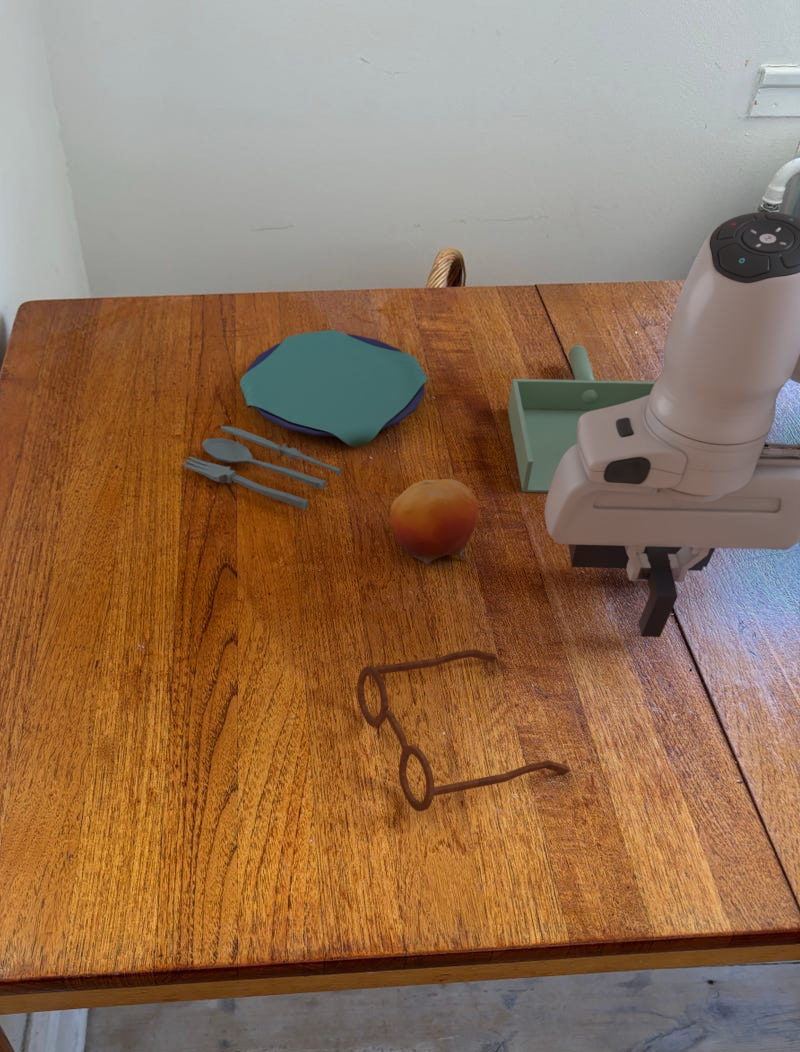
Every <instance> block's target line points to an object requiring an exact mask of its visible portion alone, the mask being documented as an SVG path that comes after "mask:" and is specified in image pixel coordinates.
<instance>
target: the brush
mask: <svg viewBox="0 0 800 1052" xmlns="http://www.w3.org/2000/svg"><path fill="white" fill-rule="evenodd" d="M681 548H683V547H654V546H646V547H645V550H644V552H643V553H646V554H648V557H649V562H650V564H651V571H650V574H649V575H648V580H647V581H646V582H647V586H648V590H649V595H648V598H647V601H646V603H645V605H644V607H643V610H642V613H641V614H640V617H639V619H638V627H639V632H640V636H641V637H642V638H660V637H661V636H662V633H663V631H664V629H665V626H666V624H667V622H668V619H669V618H670V615H671V612H672V610H673V608H674V606H675V604H676V602H677V600H678V591H677V587H676V584H675V583H676V582H674V578H673V574H672V570H671V566H670V561H669V557H668V554H676V553H677V552H678V551H679V550H680V549H681ZM715 550H716V548H710V550H709V553H708V555H707V556H706V557H704V558H703V559H702V560H700V561H699V562H698V563H696V564H695V565H694V566H692V567H691V568H690V569H688V570H687V571H689V572H690V571H692V572H694V571H695V572H696V571H697V572H702V571H703V569H704V568H705V567H708V565H709V563H710V561H711V559H712V557H713V555H714V552H715ZM568 551H569V558H570V564H571V567H572V568H589V569H591V568H593V569H621V570H623V569H624V570H625V569H626V570H627V564H628V561H629V557H628V555H627V553H626V549H625V546H615V545H576V544H568Z"/></svg>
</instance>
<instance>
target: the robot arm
mask: <svg viewBox="0 0 800 1052" xmlns="http://www.w3.org/2000/svg"><path fill="white" fill-rule="evenodd" d="M693 261H694V262H693V263H692V266H691V268H690V270H689V272H688V274H687V277H686V279H685V282H684V284H683V286H682V289H681V290H680V294H679V297H678V300H677V302H676V305H675V308H674V311H673V314H672V316H671V320H670V323H669V326H668V330H667V333H666V337H665V341H664V345H663V367H662V371H661V373H660V375H659V376H658V378H657V379H656V380H655V381H656V383H655V384H654V386H653V388H652V390H651V393H650V395H647V396H644V397H642V398H639V399H636V400H633V401H629V402H626V403H622V404H618V405H615V406H610V407H606V408H602V409H598V410H589V411H590V412H587V413H584V414H583V415H582V416H581V417H580V418H579V420H578V424H577V443H578V444H575V445H574V446H572V447H571V448H570V449H569V450H567V452H566V453H565V454H564V455H563V457H562V458H561V460H560V462H559V464H558V467H557V469H556V472H555V474H554V477H553V480H552V483H551V486H550V489H549V492H548V493H547V496H546V499H545V504H544V522H545V526H546V527H545V528H546V531H547V533H548V535H549V537H550V538H551V539H552V540H553V542H554V543H555V544H558V545H569V544H576V545H615V546H625V549H626V553H627V555H628V557H629V561H628V564H627V569H626V574H627V577H628V580H629V581H632V582H633V581H634V582H648V581H647V580H648V575H649V574H650V571H651V564H650V562H649V557H648V554H646V553H643V552H644V550H645V547H646V546H654V547H683V548H681V549H680V550H679V551H678V552H677V553H676V554H668V557H669V561H670V566H671V570H672V574H673V578H674V583H683V582H684V581H685V579H686V576H687V573H688V571H689V570H688V569H690V568H691V567H692V566H694V565H695V564H696V563H698V562H699V561H700V560H702V559H703V558H704V557H706V556H707V555H708V553H709V550H710V548H715V549H732V550H733V549H735V550H736V549H737V550H770V551H771V550H775V551H787V550H789V549H791V548H792V547H794V546H795V545H797V544H798V543H800V443H793V444H792V443H785V442H775V441H774V442H773V441H772V442H771V441H768V440H767V439H768V438H769V435H770V432H771V429H772V427H773V425H774V422H775V417H776V402H777V399H778V396H779V394H780V392H781V390H782V389H783V388H784V386H785V385H786V384H787V382H788V381H789V380H791V381H793V382H795V383H797V384H800V218H799V217H797V216H794V215H790V214H786V213H781V212H771V211H758V212H750V213H745V214H741V215H737V216H734V217H732V218H729V219H727V220H725V221H723V222H722V223H720V224H719V225H717V226H716V227H715V228H714V229H713V230H712V231H711V232H710V233H709V235H708V236H707V238H706V239H705V241H704V242H703V243H702V246H701V248H700V250H699V251H698V254H697V255H696V258H695V259H694V260H693Z"/></svg>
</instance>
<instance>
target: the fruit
mask: <svg viewBox="0 0 800 1052" xmlns="http://www.w3.org/2000/svg"><path fill="white" fill-rule="evenodd" d="M479 507H480V506H479V503H478V499H477V497H476V496H475V493H473V491H472V490H471V489H470V488H469V487H467V486H466V485H465V484H463V482H460V481H458V480H456V479H450V478H442V479H423V480H420V481H416V482H414V483H412V484H411V485H410V486H408V487H407V488H406V489H405V490H404V491H403V492H401V494H399V495H398V497H396V498H395V499H394V500H393V502H392V503H391V506H390V525H391V528H392V531H393V532H392V533H393V535H394V537H395V539H396V542H397V544H399V546H400V547H401V548H402V549H403V550H404V552H405V553H406V554H407V555H408V556H411V557H413V558H414V559H417V560H419V561H420V562H423V563H424V564H425V565H426V567H429V565H430V564H431V562H433V561H435V560H437V559H440V558H441V557H444V556H445V557H446V556H449V555H451V556H452V555H453V556H460V557H462V558H463V560H465V561H467V558H466V556H465V555H464V553H463V549H465V547H467V545H468V542H469V541H470V539H471V537H472V535H473V533H474V530H475V527H476V524H477V521H478V516H479V510H480V508H479Z"/></svg>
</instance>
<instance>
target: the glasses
mask: <svg viewBox="0 0 800 1052" xmlns="http://www.w3.org/2000/svg"><path fill="white" fill-rule="evenodd" d="M467 658H468V659H469V658H473V659H478V660H481V661H482V660H483V661H487V662H492V663H493V662H494V661H495V660H497V659H498V656H497V654H496V653H492V652H487V651H484V650H479V649H475V648H473V649H467V650H462V651H456V652H455V651H454V652H452V653H448V654H445V655H442V656H438V657H435V658H428V659H420V660H413V661H405V662H399V663H392V664H385V665H384V664H383V665H376V666H372V665H368V666H364V667H363V668H362V669H361V670H360V672H359V675H358V678H357V684H356V696H357V703H358V706H359V709H360V712H361V714H362V717H363V718H364V720H365V721H366V723H367V725H369V726H370V727H372V728H377V727H381V726H382V724H383V723H384V722H385V721H386V720H387V721H388V723H389V725H390V727H391V728H392V730H393V733H394V734H395V736H396V738H397V740H398V742H399V744H400V748H401V755H400V759H399V763H398V764H399V765H398V778H399V784H400V787H401V789H402V792H403V795H404V797H405V799H406V801H407V803H408V804H409V806H410V807H411V808H412V809H413V810H414V811H416V812H424V811H426V810H428V809H429V808H430V807H431V805H432V802H433V801H434V797H436V796H442V795H446V794H452V793H456V792H462V791H466V790H472V789H477V788H483V787H487V786H492V785H497V784H502V783H507V782H508V781H511V780H513V779H516V778H518V777H521V776H523V775H525V774H530V773H532V772H536V771H540V770H544V769H546V770H548V771H553V772H556V773H560V774H562V775H566V774H567V773H569V772H571V768H570V766H569V765H565V764H563V763H559V762H556V761H552V760H550V759H549V760H544V761H538V762H535V763H530V764H526V765H523V766H521V767H518V768H515V769H513V770H510V771H508V772H505V773H500V774H494V775H489V776H485V777H479V778H473V779H470V780H469V779H468V780H464V781H459V782H453V783H448V784H443V785H438V786H435V779H434V775H433V771H432V767H431V764H430V763H429V760H428V758H427V756H426V755H425V753H424V752H423V750H422V749H421V748H420V747H418V746H416V745H414V744H409V743H408V739H407V736H406V734H405V731H404V730H403V728H402V726H401V725H400V723H399V721H398V719H397V717H396V716H395V714H394V713H393V712H392V711H391V710H389V708H390V703H389V702H390V701H389V695H388V691H387V687H386V684H385V681H384V679H383V677H382V675H385V674H391V673H400V672H406V671H413V670H419V669H426V668H434V667H438V666H441V665H445V664H447V663H450V662H454V661H458V660H463V659H467ZM367 677H372V678H373V680H374V681H375V684H376V686H377V688H378V692H379V697H380V708H379V712H378V714H377V717H376V718H374V716H373V715H372V714H371V713H370V711H369V710H370V709H368V705H367V702H366V699H365V697H366V696H365V684H366V680H367ZM411 755H412V756H414V757H415V758H416V759H417V760H418V762H419V763H420V767H421V768H422V771H423V775H424V780H425V794H424V797H423V800H422V801H421V802H420V801H418V799H417V798H416V797H415V796H414V794H413V792H412V790H411V788H410V784H409V780H408V775H407V768H408V762H409V759H410V756H411Z"/></svg>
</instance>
